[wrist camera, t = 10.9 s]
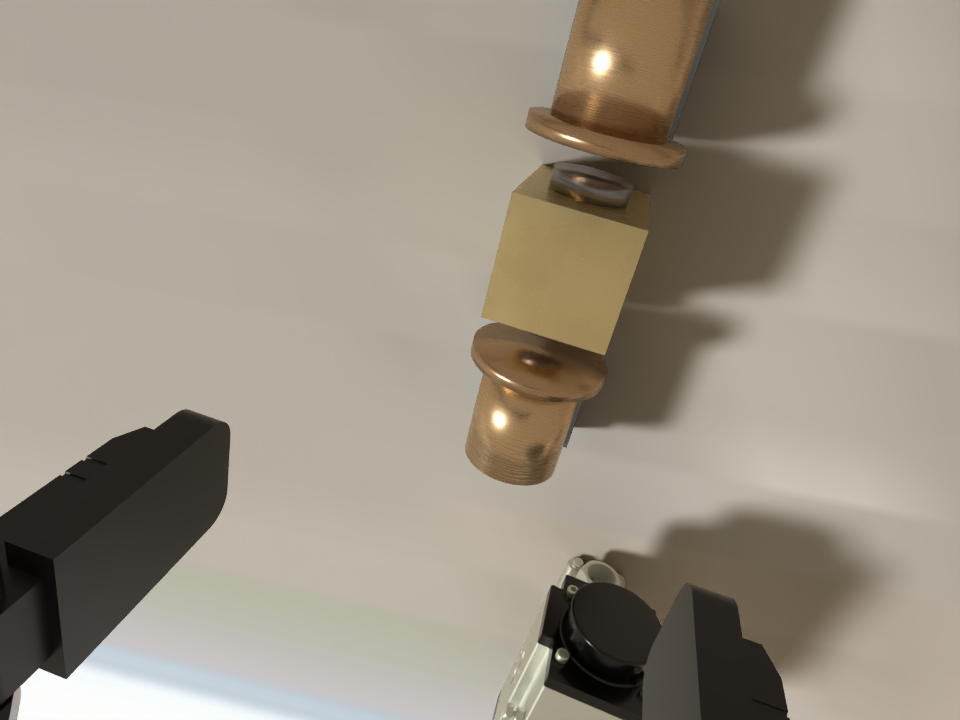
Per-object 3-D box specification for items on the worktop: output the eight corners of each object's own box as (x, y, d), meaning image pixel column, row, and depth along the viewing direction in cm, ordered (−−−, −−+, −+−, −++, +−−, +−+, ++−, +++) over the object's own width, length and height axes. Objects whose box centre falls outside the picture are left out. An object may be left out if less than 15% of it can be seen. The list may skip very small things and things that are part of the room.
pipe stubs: (472, 395, 35) (431, 469, 29) (580, -30, 26) (554, -59, 20) (580, 430, 35) (562, 514, 28) (729, 5, 25) (753, -12, 19)
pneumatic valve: (666, 529, 36) (670, 726, 25) (590, 663, 41) (566, 873, 31) (571, 491, 36) (535, 669, 26) (507, 629, 42) (457, 823, 31)
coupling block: (547, 146, 29) (517, 169, 23) (656, 176, 29) (656, 209, 22) (511, 282, 32) (476, 334, 26) (609, 312, 32) (598, 373, 25)
